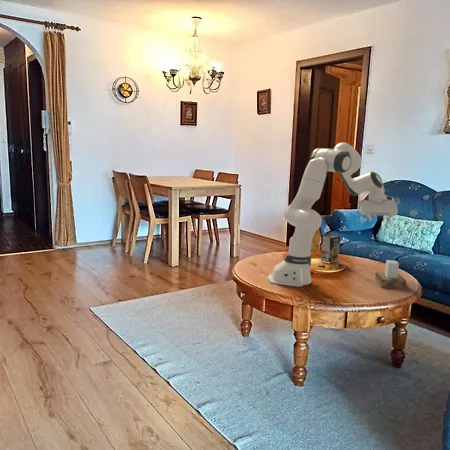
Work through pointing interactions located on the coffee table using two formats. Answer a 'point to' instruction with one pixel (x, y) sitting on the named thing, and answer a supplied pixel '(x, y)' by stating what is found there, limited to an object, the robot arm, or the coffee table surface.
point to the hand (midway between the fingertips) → (379, 220)
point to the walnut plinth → (390, 281)
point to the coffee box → (330, 248)
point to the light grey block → (391, 269)
